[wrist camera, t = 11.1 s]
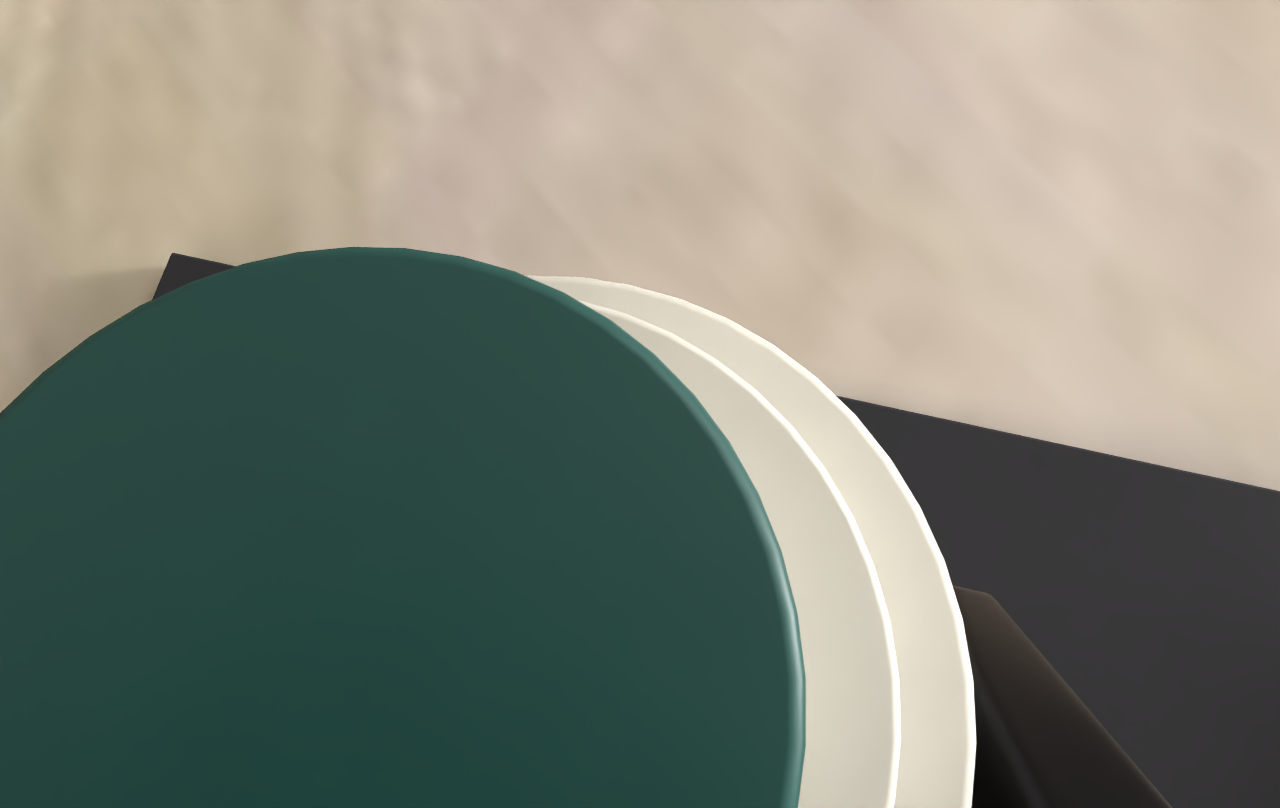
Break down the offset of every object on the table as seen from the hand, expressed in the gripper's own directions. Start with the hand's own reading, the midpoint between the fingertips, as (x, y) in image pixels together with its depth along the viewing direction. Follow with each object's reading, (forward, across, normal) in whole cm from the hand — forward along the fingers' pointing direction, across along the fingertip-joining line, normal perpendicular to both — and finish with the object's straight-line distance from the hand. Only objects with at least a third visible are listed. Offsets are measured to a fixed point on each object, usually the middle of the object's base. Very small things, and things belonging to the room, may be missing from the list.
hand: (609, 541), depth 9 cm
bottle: (+3, 0, +5) cm, 6 cm away
